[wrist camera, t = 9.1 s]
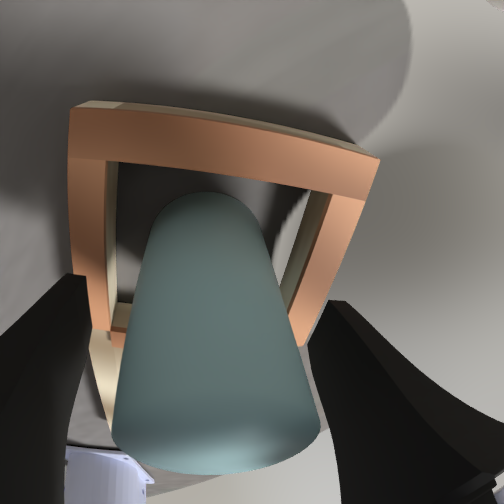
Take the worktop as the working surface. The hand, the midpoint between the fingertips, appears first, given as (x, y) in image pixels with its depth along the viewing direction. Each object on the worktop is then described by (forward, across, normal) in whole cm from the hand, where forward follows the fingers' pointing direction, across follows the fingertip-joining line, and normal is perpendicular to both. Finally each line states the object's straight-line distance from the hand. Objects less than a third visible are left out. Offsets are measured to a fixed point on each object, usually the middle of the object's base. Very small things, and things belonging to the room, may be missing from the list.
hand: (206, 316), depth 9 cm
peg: (+4, 0, 0) cm, 4 cm away
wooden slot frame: (+4, 0, +5) cm, 7 cm away
